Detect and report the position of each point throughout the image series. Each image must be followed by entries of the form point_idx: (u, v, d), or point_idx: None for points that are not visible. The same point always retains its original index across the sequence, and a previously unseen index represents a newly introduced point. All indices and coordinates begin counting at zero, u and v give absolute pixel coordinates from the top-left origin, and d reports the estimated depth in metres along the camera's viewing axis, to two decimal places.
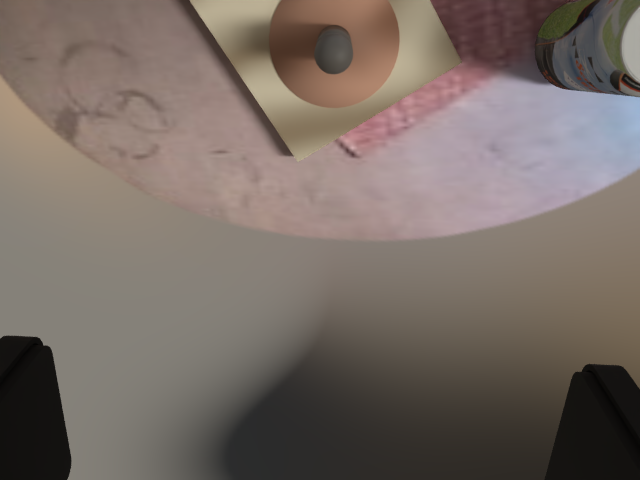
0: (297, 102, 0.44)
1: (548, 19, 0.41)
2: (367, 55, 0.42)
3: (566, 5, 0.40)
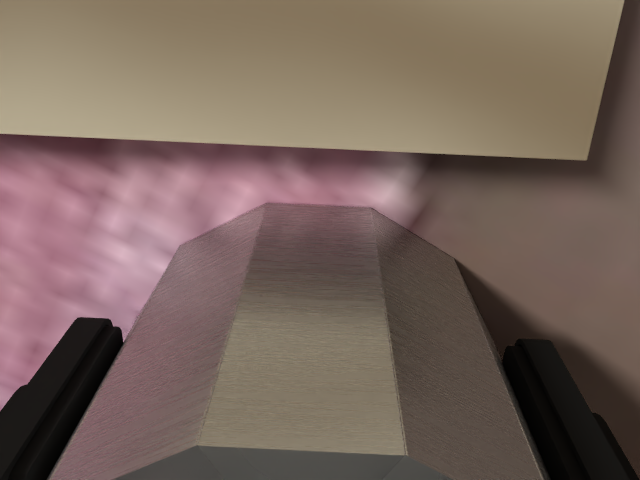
0: None
1: None
2: None
3: None
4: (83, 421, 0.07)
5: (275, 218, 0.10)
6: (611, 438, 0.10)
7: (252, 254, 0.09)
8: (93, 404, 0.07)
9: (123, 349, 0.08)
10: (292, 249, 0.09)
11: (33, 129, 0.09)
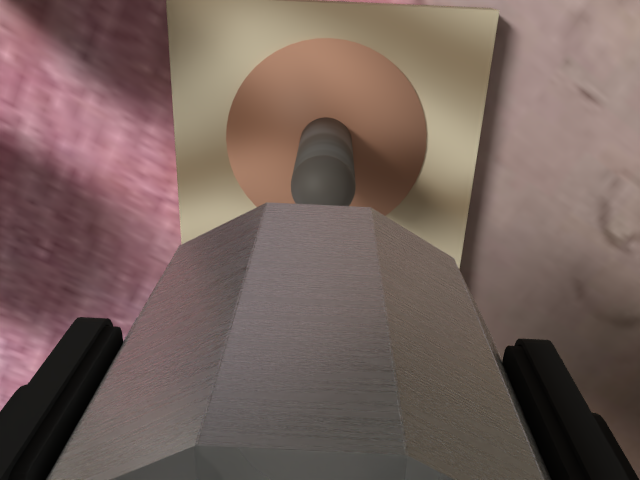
0: (429, 100, 0.27)
1: None
2: (293, 98, 0.27)
3: None
4: (82, 421, 0.07)
5: (275, 218, 0.10)
6: (611, 438, 0.10)
7: (252, 253, 0.09)
8: (92, 404, 0.07)
9: (123, 349, 0.08)
10: (292, 249, 0.09)
11: None
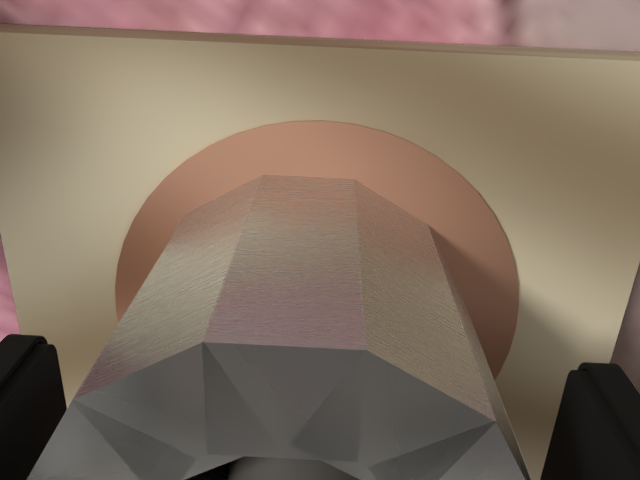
0: (528, 242, 0.13)
1: None
2: None
3: None
4: (109, 340, 0.08)
5: (269, 186, 0.12)
6: None
7: (249, 214, 0.10)
8: (116, 329, 0.09)
9: (140, 290, 0.10)
10: (283, 210, 0.11)
11: None
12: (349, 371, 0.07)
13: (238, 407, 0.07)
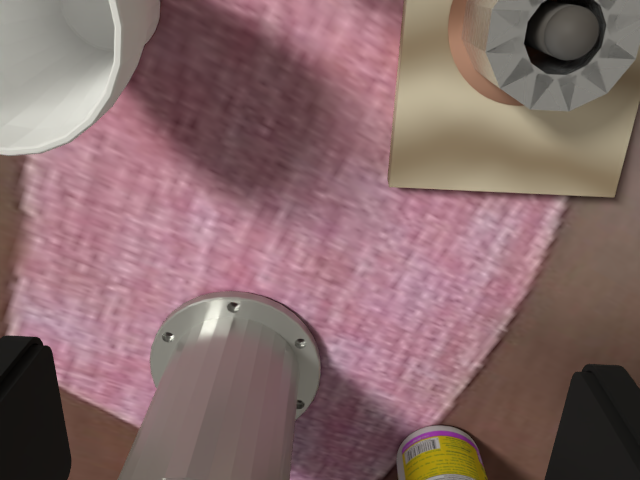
0: None
1: None
2: None
3: None
4: None
5: None
6: None
7: None
8: None
9: None
10: None
11: (483, 189, 0.37)
12: None
13: None
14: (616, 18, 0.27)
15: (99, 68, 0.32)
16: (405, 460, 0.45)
